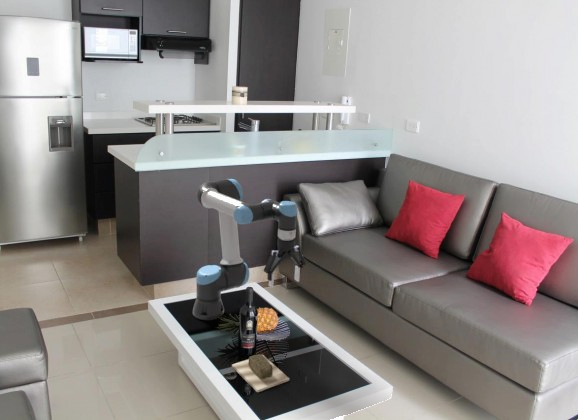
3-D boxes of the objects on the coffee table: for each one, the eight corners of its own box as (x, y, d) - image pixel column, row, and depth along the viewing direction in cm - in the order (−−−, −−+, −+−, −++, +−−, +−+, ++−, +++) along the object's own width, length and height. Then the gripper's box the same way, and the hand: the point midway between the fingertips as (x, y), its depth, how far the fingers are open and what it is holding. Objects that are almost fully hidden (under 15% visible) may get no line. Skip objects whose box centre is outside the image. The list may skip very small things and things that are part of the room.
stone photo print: (231, 366, 226) (231, 364, 226) (262, 356, 234) (262, 354, 234) (257, 392, 210) (257, 390, 210) (289, 380, 219) (289, 378, 218)
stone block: (260, 380, 216) (261, 369, 214) (247, 366, 225) (247, 355, 224) (273, 376, 219) (274, 365, 217) (259, 362, 228) (259, 352, 227)
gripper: (266, 245, 222) (264, 293, 228) (315, 235, 236) (312, 281, 242) (256, 239, 228) (254, 286, 234) (305, 230, 241) (302, 274, 248)
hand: (284, 283), depth 238 cm, fingers open, 13 cm apart
